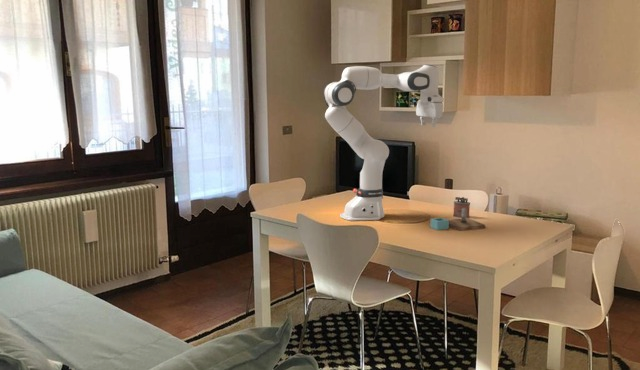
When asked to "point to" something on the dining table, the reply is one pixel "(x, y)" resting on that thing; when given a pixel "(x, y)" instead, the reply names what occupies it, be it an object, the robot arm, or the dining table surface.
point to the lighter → (461, 206)
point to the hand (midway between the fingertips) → (428, 125)
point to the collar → (439, 223)
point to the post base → (466, 226)
